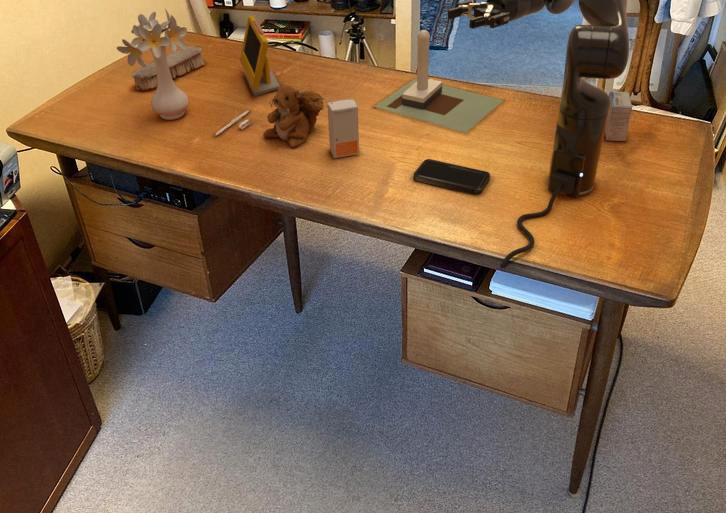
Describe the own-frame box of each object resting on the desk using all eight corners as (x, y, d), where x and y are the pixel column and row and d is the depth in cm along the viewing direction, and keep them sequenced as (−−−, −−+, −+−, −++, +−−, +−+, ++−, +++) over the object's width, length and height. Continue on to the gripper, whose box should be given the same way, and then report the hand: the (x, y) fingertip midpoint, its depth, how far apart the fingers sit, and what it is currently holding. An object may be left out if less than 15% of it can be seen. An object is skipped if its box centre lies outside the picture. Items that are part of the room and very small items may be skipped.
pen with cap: (247, 111, 178) (246, 104, 177) (262, 114, 176) (261, 107, 175) (214, 136, 168) (213, 128, 167) (229, 139, 167) (227, 131, 165)
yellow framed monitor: (241, 72, 198) (233, 16, 188) (268, 67, 199) (262, 12, 189) (254, 101, 182) (246, 42, 173) (284, 96, 184) (277, 37, 174)
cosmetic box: (334, 159, 158) (330, 110, 151) (329, 150, 161) (326, 102, 154) (360, 154, 159) (358, 106, 152) (355, 146, 162) (353, 98, 155)
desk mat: (465, 133, 165) (465, 132, 165) (374, 107, 177) (374, 106, 177) (503, 101, 178) (503, 100, 178) (415, 78, 190) (415, 77, 190)
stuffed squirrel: (260, 138, 167) (253, 86, 159) (304, 117, 175) (300, 66, 166) (287, 152, 161) (281, 99, 153) (332, 130, 169) (329, 78, 161)
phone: (479, 191, 144) (411, 175, 149) (478, 195, 144) (411, 179, 150) (491, 172, 149) (426, 157, 155) (491, 176, 150) (426, 162, 155)
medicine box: (625, 142, 160) (633, 107, 154) (605, 140, 160) (612, 106, 155) (622, 125, 166) (629, 91, 160) (602, 124, 166) (609, 90, 161)
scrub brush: (423, 109, 175) (424, 40, 164) (401, 105, 177) (402, 36, 166) (442, 92, 182) (444, 24, 171) (421, 87, 185) (422, 21, 174)
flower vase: (131, 130, 172) (104, 29, 157) (167, 97, 186) (145, 2, 171) (179, 135, 169) (156, 34, 154) (212, 102, 183) (194, 5, 168)
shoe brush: (192, 57, 207) (188, 41, 204) (210, 63, 203) (207, 46, 200) (129, 88, 191) (124, 71, 188) (148, 94, 188) (143, 77, 185)
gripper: (491, -16, 182) (441, -4, 176) (530, -3, 173) (479, 11, 166) (489, 13, 187) (440, 26, 180) (526, 28, 177) (477, 43, 171)
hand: (459, 19), depth 173 cm, fingers open, 8 cm apart
